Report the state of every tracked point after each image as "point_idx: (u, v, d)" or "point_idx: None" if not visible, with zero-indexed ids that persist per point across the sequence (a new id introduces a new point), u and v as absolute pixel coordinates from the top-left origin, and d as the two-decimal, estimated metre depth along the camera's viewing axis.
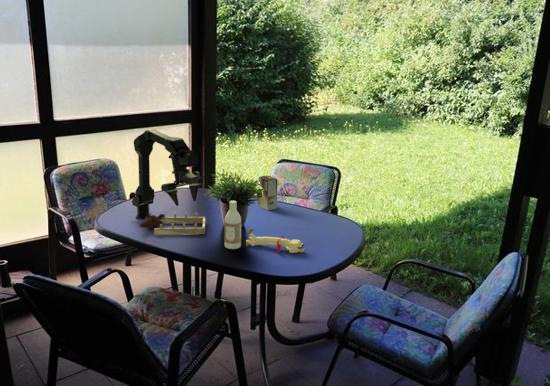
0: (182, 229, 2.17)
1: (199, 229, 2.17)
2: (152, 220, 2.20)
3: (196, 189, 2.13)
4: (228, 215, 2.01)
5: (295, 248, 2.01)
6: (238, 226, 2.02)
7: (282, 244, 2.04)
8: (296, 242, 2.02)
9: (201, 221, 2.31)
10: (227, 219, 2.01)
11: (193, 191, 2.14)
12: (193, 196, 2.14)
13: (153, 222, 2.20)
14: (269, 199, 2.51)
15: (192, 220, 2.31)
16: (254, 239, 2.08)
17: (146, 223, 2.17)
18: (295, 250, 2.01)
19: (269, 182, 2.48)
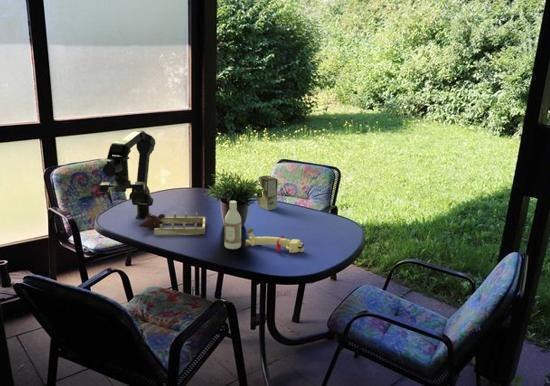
0: (182, 229, 2.17)
1: (199, 229, 2.17)
2: (152, 220, 2.20)
3: (135, 195, 2.15)
4: (228, 215, 2.01)
5: (295, 248, 2.01)
6: (238, 226, 2.02)
7: (282, 244, 2.04)
8: (296, 242, 2.02)
9: (201, 221, 2.31)
10: (227, 219, 2.01)
11: (134, 195, 2.16)
12: (133, 200, 2.17)
13: (153, 222, 2.20)
14: (269, 199, 2.51)
15: (192, 220, 2.31)
16: (254, 239, 2.08)
17: (146, 223, 2.18)
18: (295, 250, 2.01)
19: (269, 182, 2.48)
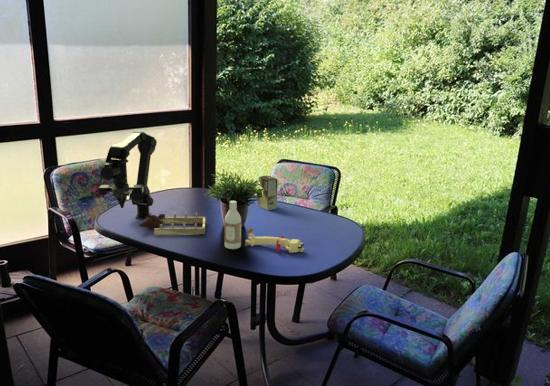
0: (182, 229, 2.17)
1: (199, 229, 2.17)
2: (152, 220, 2.20)
3: (123, 198, 2.15)
4: (228, 215, 2.01)
5: (295, 248, 2.01)
6: (238, 226, 2.02)
7: (282, 244, 2.04)
8: (296, 242, 2.02)
9: (201, 221, 2.31)
10: (227, 219, 2.01)
11: None
12: None
13: (153, 222, 2.20)
14: (269, 199, 2.51)
15: (192, 220, 2.31)
16: (253, 239, 2.08)
17: (146, 223, 2.18)
18: (295, 250, 2.01)
19: (269, 182, 2.48)
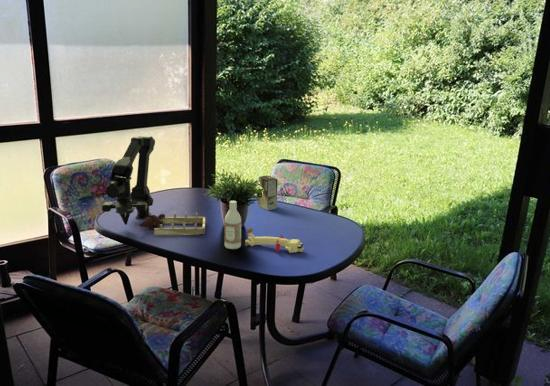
0: (182, 229, 2.17)
1: (199, 229, 2.17)
2: (152, 220, 2.20)
3: (127, 215, 2.18)
4: (228, 215, 2.01)
5: (294, 248, 2.01)
6: (238, 226, 2.02)
7: (281, 244, 2.04)
8: (295, 242, 2.02)
9: (201, 221, 2.31)
10: (227, 219, 2.01)
11: (126, 215, 2.19)
12: None
13: (153, 222, 2.20)
14: (269, 199, 2.51)
15: (192, 220, 2.31)
16: (253, 239, 2.08)
17: (146, 223, 2.18)
18: (294, 250, 2.01)
19: (269, 182, 2.48)
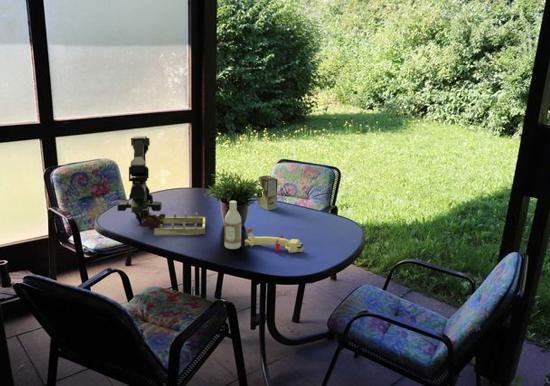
0: (182, 229, 2.17)
1: (199, 229, 2.17)
2: (152, 220, 2.20)
3: (141, 214, 2.18)
4: (228, 215, 2.01)
5: (294, 248, 2.01)
6: (238, 226, 2.02)
7: (281, 244, 2.04)
8: (295, 242, 2.02)
9: (201, 221, 2.31)
10: (227, 219, 2.01)
11: (140, 215, 2.20)
12: None
13: (153, 222, 2.20)
14: (269, 199, 2.51)
15: (192, 220, 2.31)
16: (253, 239, 2.08)
17: (146, 222, 2.18)
18: (294, 250, 2.01)
19: (269, 182, 2.48)
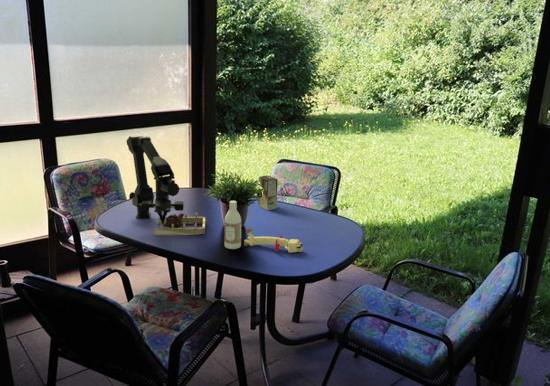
0: (182, 229, 2.17)
1: (199, 229, 2.17)
2: (175, 220, 2.21)
3: (164, 214, 2.19)
4: (228, 215, 2.01)
5: (294, 248, 2.01)
6: (238, 226, 2.02)
7: (280, 244, 2.04)
8: (294, 242, 2.02)
9: (201, 221, 2.31)
10: (227, 219, 2.01)
11: None
12: None
13: (176, 222, 2.21)
14: (269, 199, 2.51)
15: (192, 220, 2.31)
16: (252, 239, 2.08)
17: (170, 223, 2.18)
18: (294, 250, 2.01)
19: (269, 182, 2.48)
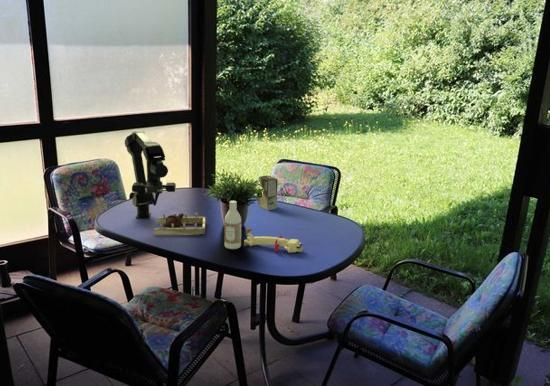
0: (182, 229, 2.17)
1: (199, 229, 2.17)
2: (174, 220, 2.21)
3: (156, 195, 2.18)
4: (228, 215, 2.01)
5: (293, 248, 2.01)
6: (238, 226, 2.02)
7: (280, 244, 2.04)
8: (294, 242, 2.02)
9: (201, 221, 2.31)
10: (227, 219, 2.01)
11: (155, 196, 2.20)
12: None
13: (175, 222, 2.21)
14: (269, 199, 2.51)
15: (192, 220, 2.31)
16: (252, 239, 2.07)
17: (169, 223, 2.18)
18: (293, 250, 2.01)
19: (269, 182, 2.48)
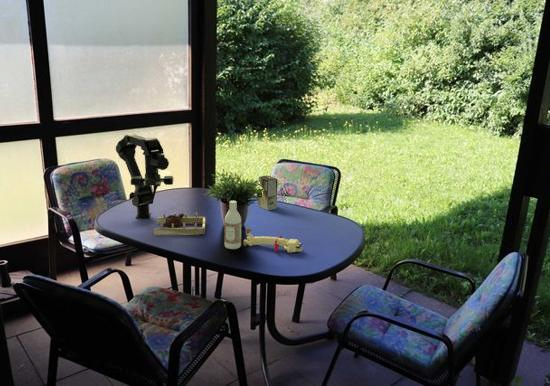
0: (182, 229, 2.17)
1: (199, 229, 2.17)
2: (174, 220, 2.21)
3: (154, 188, 2.25)
4: (228, 215, 2.01)
5: (293, 248, 2.01)
6: (238, 226, 2.02)
7: (280, 244, 2.04)
8: (294, 242, 2.02)
9: (201, 221, 2.31)
10: (227, 219, 2.01)
11: None
12: None
13: (175, 222, 2.21)
14: (269, 199, 2.51)
15: (192, 220, 2.31)
16: (252, 239, 2.07)
17: (169, 223, 2.19)
18: (293, 250, 2.01)
19: (269, 182, 2.48)
